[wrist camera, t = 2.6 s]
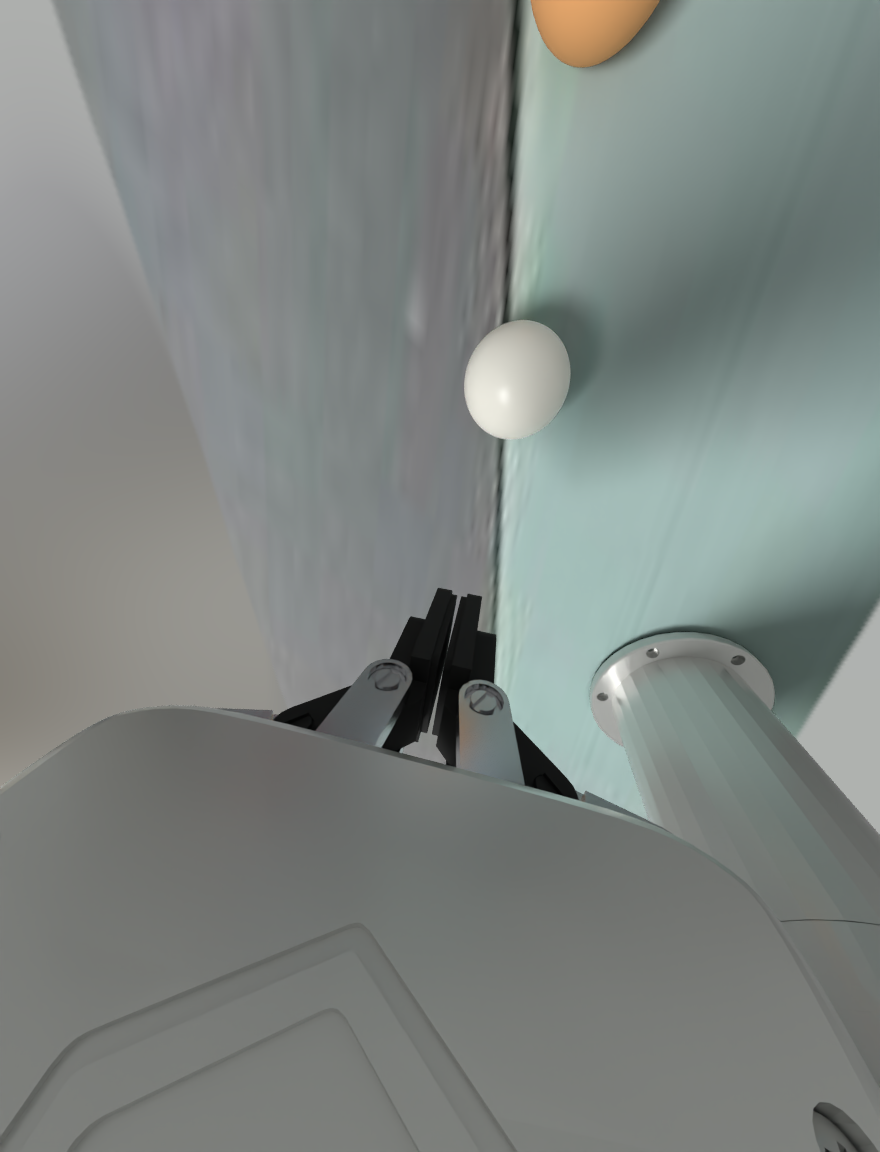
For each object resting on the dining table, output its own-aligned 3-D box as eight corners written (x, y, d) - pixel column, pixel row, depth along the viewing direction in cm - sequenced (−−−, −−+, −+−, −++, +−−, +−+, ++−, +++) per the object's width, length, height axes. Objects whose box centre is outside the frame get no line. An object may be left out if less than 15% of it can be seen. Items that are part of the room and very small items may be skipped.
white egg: (578, 403, 20) (599, 399, 15) (496, 454, 22) (492, 464, 17) (537, 309, 18) (546, 271, 14) (454, 373, 21) (435, 360, 16)
